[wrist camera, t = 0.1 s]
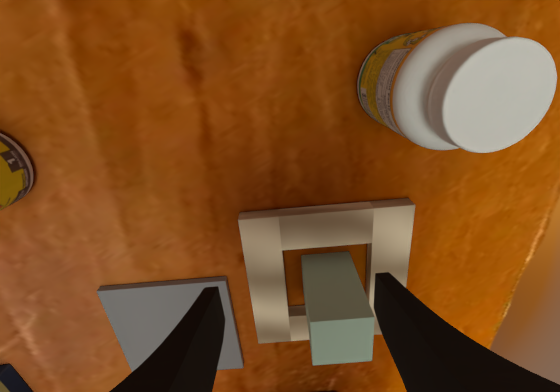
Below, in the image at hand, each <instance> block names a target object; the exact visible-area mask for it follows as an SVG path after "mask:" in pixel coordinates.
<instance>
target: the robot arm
mask: <svg viewBox="0 0 560 392" xmlns="http://www.w3.org/2000/svg"><path fill="white" fill-rule="evenodd" d="M374 311H375V314H376V317H377V321H378V324H379V327H380V330H381V332H382V335H383V337H384V339H385V341H386V344H387V346H388V348H389V351H390V353H391V355H392V357H393V360H394V362H395V364H396V366H397V369H398V371H399V373H400V375H401V378H402V380H403V383H404V385H405V388H406V390H407V392H560V385H559V384H557V383H555V382H552V381H550V380H548V379H546V378H543V377H541V376H539V375H537V374H535V373H532V372H530V371H528V370H526V369H524V368H522V367H520V366H518V365H516V364H514V363H512V362H510V361H508V360H507V359H504V358H503V357H501V356H499V355H497V354H496V353H494V352H492V351H490V350H489V349H487V348H485V347H484V346H482V345H480V344H479V343H477V342H475V341H474V340H472V339H471V338H469V337H467V336H466V335H464V334H463V333H461V332H460V331H459V330H457V329H456V328H454V327H453V326H451V325H450V324H448V323H447V322H446V321H444V320H443V319H442V318H441V317H439V316H438V315H437V314H435V313H434V312H433V311H432V310H430V309H429V308H428V307H427V306H426V305H425V304H423V303H422V302H421V301H420V300H419V299H418V298H416V297H415V296H414V295H413V294H412V293H411V292H410V291H409V290H408V289H406V288H405V287H404V286H403V285H402V284H401V283H400V282H399V281H398V280H397V279H396V278H395V277H394V276H393V275H392V274H390V273H389V272H384V273H375V289H374ZM224 329H225V315H224V311H223V306H222V302H221V297H220V293H219V288H218V286H215V287H205V288H204V289H203V290H202V292H201V293H200V295H199V296H198V297H197V299H196V300H195V302H194V303H193V304H192V306H191V307H190V309H189V310H188V311H187V313H186V314H185V315H184V316H183V318H182V319H181V320H180V322H179V323H178V324H177V326H176V327H175V328H174V329H173V330H172V332H171V333H170V334H169V335H168V336H167V337H166V339H165V340H164V341H163V342H162V343H161V344H160V345H159V347H158V348H157V349H156V350H155V351H154V352H153V353H152V354H151V355H150V356H149V357H148V358H147V359H146V360H145V361H144V362H143V363H142V364H141V365H140V366H139V367H138V368H136V369H135V370H134V371H133V372H132V373H131V374H130V375H129V376H128V377H126V378H125V379H124V380H123V381H122V382H121V383H119V384H118V385H117V386H116V387H115V388H113V389H112V390H111V391H110V392H212V389H213V384H214V380H215V376H216V371H217V367H218V362H219V358H220V354H221V349H222V344H223V338H224Z"/></svg>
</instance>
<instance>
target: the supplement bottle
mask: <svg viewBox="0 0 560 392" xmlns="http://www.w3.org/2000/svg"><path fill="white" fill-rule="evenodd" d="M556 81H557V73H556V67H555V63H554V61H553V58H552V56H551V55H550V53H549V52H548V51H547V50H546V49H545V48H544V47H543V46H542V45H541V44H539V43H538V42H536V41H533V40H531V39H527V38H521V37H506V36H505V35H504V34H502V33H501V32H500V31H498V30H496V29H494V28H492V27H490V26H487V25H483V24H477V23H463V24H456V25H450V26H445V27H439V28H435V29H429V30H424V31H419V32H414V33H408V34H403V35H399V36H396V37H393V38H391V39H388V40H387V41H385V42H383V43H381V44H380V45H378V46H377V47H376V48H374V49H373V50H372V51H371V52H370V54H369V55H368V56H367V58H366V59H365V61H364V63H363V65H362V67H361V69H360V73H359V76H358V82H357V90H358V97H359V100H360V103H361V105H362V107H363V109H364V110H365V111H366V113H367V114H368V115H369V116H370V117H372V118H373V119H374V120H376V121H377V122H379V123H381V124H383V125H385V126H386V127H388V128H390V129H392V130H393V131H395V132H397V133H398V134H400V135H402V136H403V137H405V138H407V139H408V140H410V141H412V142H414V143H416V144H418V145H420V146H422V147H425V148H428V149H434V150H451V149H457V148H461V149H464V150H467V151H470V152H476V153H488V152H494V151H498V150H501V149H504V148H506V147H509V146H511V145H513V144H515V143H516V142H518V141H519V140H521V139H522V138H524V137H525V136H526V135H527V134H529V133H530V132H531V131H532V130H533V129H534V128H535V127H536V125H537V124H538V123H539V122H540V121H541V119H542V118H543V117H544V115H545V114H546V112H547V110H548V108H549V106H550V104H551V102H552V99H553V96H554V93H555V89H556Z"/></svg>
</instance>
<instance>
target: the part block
mask: <svg viewBox="0 0 560 392" xmlns="http://www.w3.org/2000/svg"><path fill="white" fill-rule="evenodd" d="M301 263H302V277H303V292H304V300H305V308H306V316H307V323H308V331H309V339H310V347H311V355H312V363H313V365H324V364H337V363H351V362H364V361H372V352H373V336H374V320H375V317H374V314H373V312H372V309H371V307H370V304H369V301H368V299H367V296H366V294H365V291H364V289H363V286H362V283H361V281H360V278H359V276H358V273H357V271H356V268H355V266H354V263H353V260H352V258H351V255H350V253H349V251H346V252H334V253H321V254H309V255H301Z"/></svg>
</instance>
